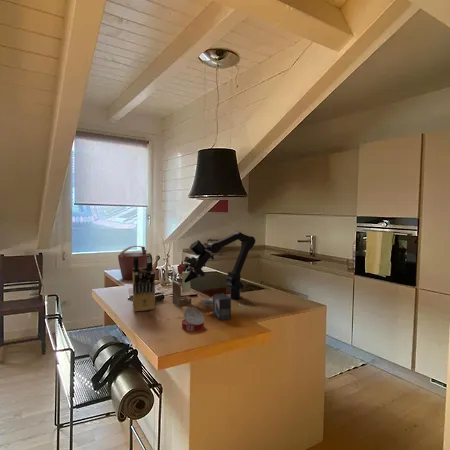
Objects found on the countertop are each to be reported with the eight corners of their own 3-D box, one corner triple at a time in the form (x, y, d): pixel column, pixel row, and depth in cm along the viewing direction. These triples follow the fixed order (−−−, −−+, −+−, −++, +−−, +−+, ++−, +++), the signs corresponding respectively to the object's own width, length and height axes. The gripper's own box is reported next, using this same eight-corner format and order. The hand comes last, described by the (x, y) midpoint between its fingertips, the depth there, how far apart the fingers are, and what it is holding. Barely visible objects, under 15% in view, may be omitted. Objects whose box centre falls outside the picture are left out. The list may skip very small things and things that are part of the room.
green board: (188, 290, 187) (188, 271, 186) (190, 291, 185) (190, 271, 185) (182, 291, 185) (182, 272, 184) (183, 292, 183) (183, 272, 183)
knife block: (132, 317, 162) (132, 255, 161) (132, 299, 196) (132, 247, 195) (156, 316, 165) (156, 254, 164) (152, 298, 199) (152, 246, 198)
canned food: (199, 334, 154) (209, 315, 155) (198, 340, 144) (209, 319, 145) (178, 322, 154) (188, 303, 155) (175, 328, 144) (186, 307, 145)
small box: (212, 314, 169) (212, 293, 169) (223, 312, 171) (224, 292, 171) (218, 320, 159) (219, 299, 159) (231, 319, 162) (231, 298, 161)
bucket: (142, 274, 273) (142, 243, 272) (155, 278, 256) (155, 246, 255) (113, 277, 258) (113, 245, 257) (125, 282, 241) (124, 248, 240)
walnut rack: (188, 302, 191) (189, 279, 190) (195, 306, 183) (195, 282, 183) (172, 304, 186) (172, 281, 186) (178, 308, 178) (178, 284, 178)
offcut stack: (210, 306, 183) (210, 297, 183) (216, 309, 177) (216, 300, 177) (197, 308, 179) (197, 299, 179) (203, 311, 173) (203, 302, 173)
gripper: (186, 249, 194) (168, 269, 189) (199, 253, 178) (180, 275, 173) (198, 261, 198) (181, 282, 193) (212, 266, 182) (194, 288, 177)
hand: (184, 281), depth 184 cm, fingers closed on green board, 2 cm apart
